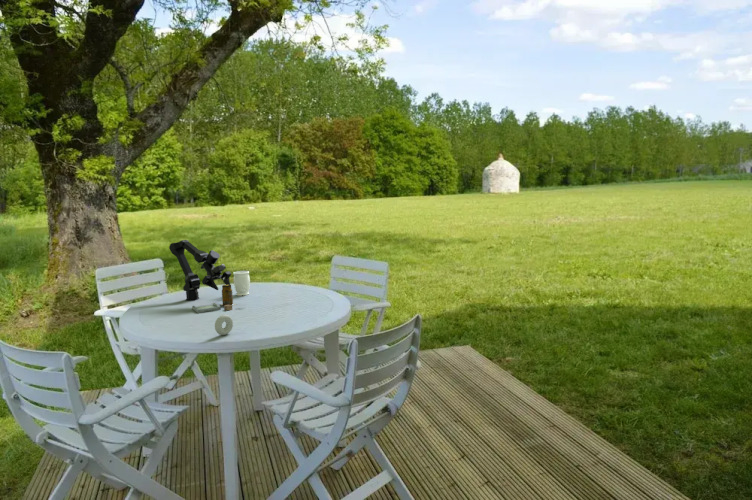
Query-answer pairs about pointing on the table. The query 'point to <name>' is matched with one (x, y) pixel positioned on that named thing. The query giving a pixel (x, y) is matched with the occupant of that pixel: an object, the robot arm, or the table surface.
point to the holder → (206, 308)
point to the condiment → (227, 295)
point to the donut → (227, 328)
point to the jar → (241, 282)
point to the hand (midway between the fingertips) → (224, 288)
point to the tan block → (227, 307)
